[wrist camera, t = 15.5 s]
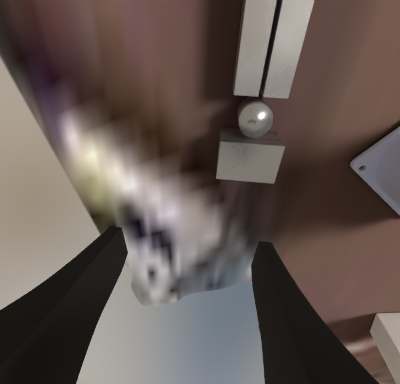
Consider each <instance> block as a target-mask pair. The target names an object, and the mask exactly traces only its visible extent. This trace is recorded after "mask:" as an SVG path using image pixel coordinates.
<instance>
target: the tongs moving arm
mask: <svg viewBox="0 0 400 384" xmlns="http://www.w3.org/2000/svg"><path fill="white" fill-rule="evenodd" d="M313 3H314V0H277V1H276V7H275V12H274V17H273V22H272V28H271V33H270V38H269V43H268V48H267V54H266V59H265V64H264V69H263V75H262V80H261V85H260V90H259V92H260V94H261V95H262V96H263V97H272V98H287V99H288V96H289V93H290V89H291V85H292V81H293V78H294V74H295V70H296V67H297V63H298V59H299V55H300V52H301V48H302V44H303V40H304V37H305V33H306V29H307V25H308V22H309V18H310V14H311V11H312V7H313ZM237 117H238V122H239V127H240V130H241V131H242V133H243V134H244V135H246V136H248V137H252V138H256V137H260V136H262V135H264V134H266V133H267V132H268V131H269V130H270V128H271V126H272V124H273V114H272V111H271V110H270V108H269V107H268V106H267V104H266V103H265V102H264V100H263V99H261V98H260V97H256V96H250V97H247V98H246V99H244V100H243V101H242V102H241V103H240V104H239V106H238V109H237Z"/></svg>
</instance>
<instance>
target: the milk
mask: <svg viewBox="0 0 400 384" xmlns="http://www.w3.org/2000/svg"><path fill="white" fill-rule="evenodd" d="M370 333H371V335H372V337H373V339H374V341H375V343H376V345H377V347H378V349H379V351H380V353H381V355H382V357H383V359H384V361H385V363H386V364H387V366H388V368H389V370H390V372H391V374H392V376H393V378H394V380H395V382H396V384H400V312H398V313H376V316H375V318H374V321H373V324H372V326H371V329H370Z"/></svg>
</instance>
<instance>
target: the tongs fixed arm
mask: <svg viewBox="0 0 400 384" xmlns="http://www.w3.org/2000/svg"><path fill="white" fill-rule="evenodd" d="M276 1H277V0H243V5H242V13H241V21H240V30H239V38H238V46H237V54H236V62H235V71H234V79H233V87H232V89H233V93H234V95H241V96H256V97H258V95H259V90H260V85H261V80H262V75H263V69H264V64H265V59H266V54H267V48H268V43H269V38H270V33H271V28H272V22H273V17H274V12H275V7H276ZM284 149H285V145H284V144H283V142H282V140H281V139H280V137H279V136H278V134H277V132H275V131H268V132H267V133H266V134H264V135H262V136H260V137H256V138H252V137H248V136H246V135H244V134H243V133H242V131H241V130H240V129H234V128H221V129H220V139H219V148H218V158H217V174H216V179H225V180H237V181H248V182H260V183H272V184H274V182H275V179H276V176H277V172H278V169H279V166H280V162H281V159H282V156H283V152H284Z"/></svg>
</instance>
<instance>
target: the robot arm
mask: <svg viewBox="0 0 400 384" xmlns="http://www.w3.org/2000/svg"><path fill="white" fill-rule="evenodd" d="M350 166H351V168H352V169H353V170H354V171H355V172H356V173H357V174H358V175H359V176H360V177H361V178H362V179H363V180H364V181H365V182H366V183H367V184H368V185H369V186H370V187H371V188H372V189H373V190H374V191H375V192H376V193H377V194H378V195H379V196H380V197H381V198H382V199H383V200H384V201H385V202H387V203H388V204H389V205H390V206H391V207H392V208H393V209H394V210H395V211H396V212H397V213H398V214H399V215H400V127H398V128H397V129H395V130H394V131H393V132H391V133H390V134H388V135H387V136H385V137H384V138H383V139H381V140H380V141H378V142H377V143H376V144H374V145H373V146H371V147H370V148H369V149H367V150H366V151H364V152H363V153H362V154H360V155H359V156H357V157H356V158H355V159H353V160H352V161H351V163H350ZM361 166H363V167H362V168H361V169H359V168H360V167H361ZM127 254H128V251H127V247H126V243H125V239H124V235H123V231H122V228H120V227H109V228H108V229H107V230H106V231H105V232H104V233H102V234H101V235H100V236H99V237H98V238H97V239H96V240H95V241H93V242H92V243H91V244H90V245H89V246H88V247H87V248H85V249H84V250H83V251H82V252H81V253H80V254H78V255H77V256H76V257H75V258H74V259H72V260H71V261H70V262H69V263H67V264H66V265H65V266H64V267H63V268H61V269H60V270H59V271H57V272H56V273H55V274H54V275H52V276H51V277H49V278H48V279H47V280H46V281H44V282H43V283H41V284H40V285H39V286H37V287H36V288H34V289H33V290H32V291H30V292H28V293H27V294H25V295H24V296H22V297H21V298H19V299H18V300H16V301H14V302H13V303H11V304H9V305H8V306H6V307H5V308H3V309H2V310H0V384H76V382H77V379H78V375H79V373H80V370H81V367H82V363H83V361H84V358H85V355H86V352H87V349H88V346H89V344H90V341H91V338H92V335H93V333H94V331H95V328H96V325H97V323H98V320H99V318H100V316H101V313H102V311H103V309H104V307H105V305H106V303H107V301H108V299H109V297H110V294H111V293H112V290H113V288H114V286H115V284H116V282H117V280H118V278H119V276H120V273H121V271H122V268H123V266H124V263H125V260H126V257H127ZM251 270H252V286H253V292H254V298H255V304H256V309H257V316H258V322H259V327H260V334H261V340H262V351H263V364H264V377H265V384H379V383H378V382H377V381H376V380H375V379H374V378H373V377H372V376H371V375H370V374H369V373H368V372H367V370H366V369H365V368H364V367H363V366H362V365H361V364H360V363H359V362H358V361H357V360H356V358H355V357H354V356H353V355H352V354H351V353H350V352H349V351H348V350H347V349H346V347H345V346H344V345H343V344H342V343H341V342H340V341H339V339H338V338H337V337H336V336H335V335H334V334H333V332H332V331H331V330H330V329H329V328H328V326H327V325H326V324H325V323H324V321H323V320H322V319H321V318H320V316H319V315H318V314H317V312H316V311H315V310H314V308H313V307H312V306H311V304H310V303H309V302H308V300H307V299H306V297H305V296H304V295H303V293H302V292H301V290H300V289H299V287H298V286H297V284H296V283H295V281H294V280H293V278H292V277H291V275H290V274H289V272H288V270H287V269H286V267H285V265H284V264H283V262H282V260H281V259H280V257H279V255H278V253H277V252H276V250H275V248H274V246H273V244H272V243H270V242H260V241H259V242H258V246H257V249H256V252H255V255H254V259H253V262H252V265H251Z"/></svg>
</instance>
